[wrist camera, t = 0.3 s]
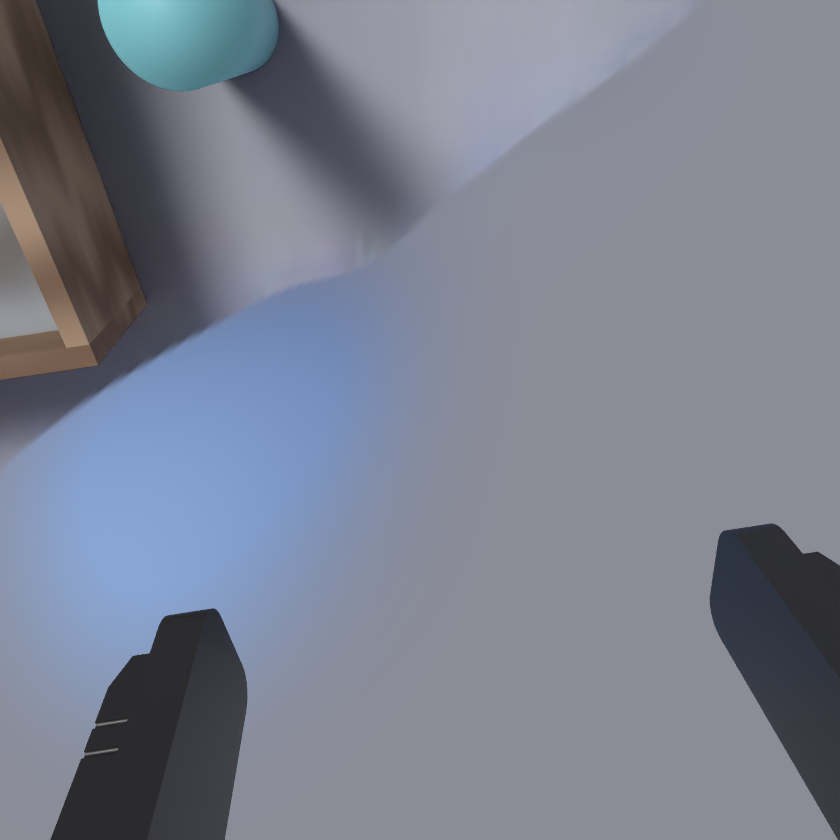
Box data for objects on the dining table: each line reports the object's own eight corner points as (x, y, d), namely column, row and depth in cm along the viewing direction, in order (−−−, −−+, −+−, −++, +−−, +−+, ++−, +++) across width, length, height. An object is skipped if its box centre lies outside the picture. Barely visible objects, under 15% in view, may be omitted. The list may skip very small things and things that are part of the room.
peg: (173, -26, 28) (74, -58, 18) (266, -40, 28) (216, -79, 18) (201, 79, 30) (126, 99, 20) (288, 66, 30) (253, 81, 20)
